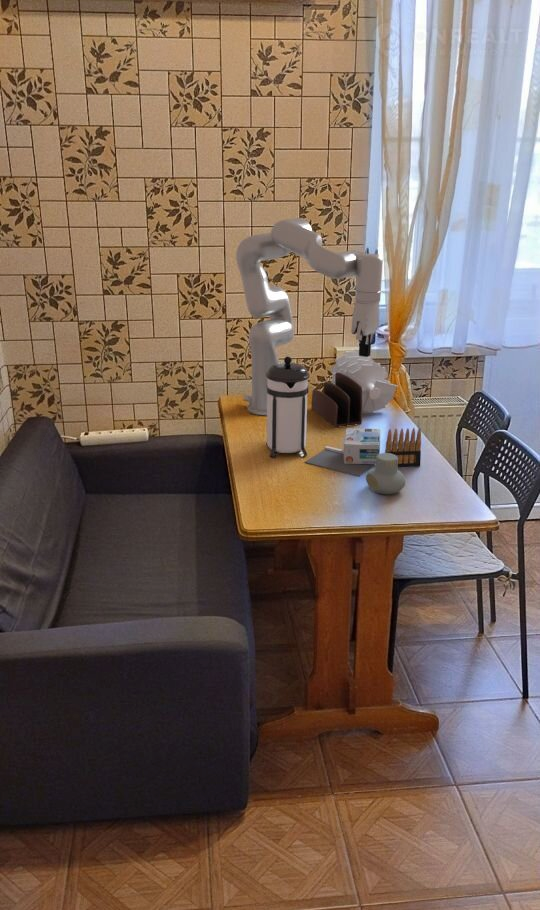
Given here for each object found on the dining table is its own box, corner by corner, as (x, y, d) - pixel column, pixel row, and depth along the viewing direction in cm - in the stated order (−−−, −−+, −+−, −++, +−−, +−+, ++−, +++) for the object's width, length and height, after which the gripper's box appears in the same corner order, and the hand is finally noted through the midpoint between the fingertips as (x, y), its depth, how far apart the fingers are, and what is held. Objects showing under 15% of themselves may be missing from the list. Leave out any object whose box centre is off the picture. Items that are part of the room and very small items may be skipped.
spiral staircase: (360, 426, 269) (337, 401, 291) (404, 403, 269) (378, 379, 291) (341, 383, 260) (319, 360, 282) (387, 359, 260) (362, 338, 282)
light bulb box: (380, 428, 232) (380, 444, 222) (380, 448, 235) (379, 464, 225) (345, 427, 233) (343, 444, 224) (345, 447, 236) (343, 464, 227)
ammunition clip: (418, 464, 228) (421, 426, 223) (420, 466, 226) (423, 428, 222) (383, 465, 227) (386, 427, 222) (384, 468, 225) (387, 429, 221)
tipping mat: (304, 462, 228) (304, 459, 228) (326, 448, 238) (326, 445, 238) (358, 476, 219) (359, 473, 219) (379, 461, 229) (379, 458, 229)
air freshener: (362, 484, 214) (364, 451, 211) (388, 480, 217) (390, 447, 213) (381, 500, 205) (383, 466, 201) (408, 496, 208) (411, 462, 204)
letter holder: (336, 406, 276) (337, 369, 271) (361, 424, 259) (364, 384, 254) (310, 410, 273) (312, 371, 268) (335, 428, 256) (337, 388, 250)
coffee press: (322, 450, 238) (326, 355, 226) (288, 464, 227) (290, 366, 215) (281, 435, 249) (282, 345, 237) (246, 449, 238) (246, 355, 226)
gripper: (367, 291, 238) (364, 349, 245) (345, 299, 227) (342, 359, 234) (389, 294, 234) (385, 352, 241) (367, 302, 223) (364, 363, 230)
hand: (364, 355), depth 238 cm, fingers closed
